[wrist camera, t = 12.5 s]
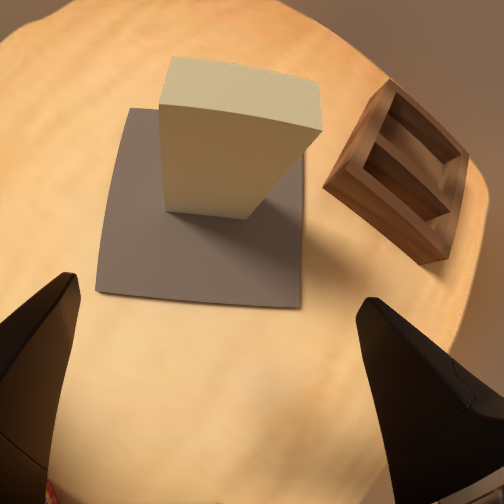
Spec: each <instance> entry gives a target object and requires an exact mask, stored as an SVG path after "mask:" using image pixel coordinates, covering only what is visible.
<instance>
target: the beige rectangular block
mask: <svg viewBox="0 0 504 504" xmlns="http://www.w3.org/2000/svg"><path fill="white" fill-rule="evenodd" d="M159 125H160V146H161V163H162V177H163V190H164V201H165V211H167V212H177V213H187V214H197V215H207V216H216V217H225V218H234V219H243V220H246V219H247V218H248V217H249V216H250V215H251V214H252V212H253V211H254V210H255V209H256V208H257V206H258V205H259V204H260V203H261V202H262V200H263V199H264V198H265V197H266V196H267V195H268V193H269V192H270V191H271V190H272V189H273V187H274V186H275V185H276V184H277V183H278V182H279V180H280V179H281V178H282V177H283V176H284V175H285V173H286V172H287V171H288V170H289V169H290V168H291V166H292V165H293V164H294V163H295V162H296V161H297V160H298V158H299V157H300V156H301V155H302V154H303V153H304V151H305V150H306V149H307V148H308V147H309V146H310V145H311V143H312V142H313V141H314V140H315V139H316V138H317V137H318V135H319V134H320V133H321V132H322V131H323V128H322V113H321V100H320V88H319V83H318V82H315V81H311V80H307V79H304V78H300V77H296V76H292V75H288V74H283V73H279V72H275V71H270V70H265V69H260V68H255V67H250V66H245V65H239V64H233V63H227V62H220V61H213V60H205V59H197V58H187V57H177V56H172V59H171V62H170V65H169V69H168V72H167V75H166V79H165V83H164V86H163V90H162V94H161V97H160V101H159Z"/></svg>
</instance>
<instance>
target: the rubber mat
mask: <svg viewBox="0 0 504 504" xmlns="http://www.w3.org/2000/svg"><path fill="white" fill-rule="evenodd" d="M301 246H302V155H301V156H300V157H299V158H298V160H297V161H296V162H295V163H294V164H293V165H292V166H291V168H290V169H289V170H288V171H287V172H286V173H285V175H284V176H283V177H282V178H281V179H280V180H279V182H278V183H277V184H276V185H275V186H274V187H273V189H272V190H271V191H270V192H269V193H268V195H267V196H266V197H265V198H264V199H263V200H262V202H261V203H260V204H259V205H258V206H257V208H256V209H255V210H254V211H253V212H252V214H251V215H250V216H249V217H248V218H247V219H246V220H243V219H234V218H225V217H216V216H207V215H197V214H187V213H177V212H167V211H165V201H164V190H163V177H162V163H161V146H160V125H159V110H154V109H140V108H130V110H129V113H128V117H127V120H126V124H125V127H124V131H123V134H122V138H121V142H120V146H119V150H118V154H117V158H116V162H115V167H114V171H113V175H112V180H111V185H110V190H109V195H108V200H107V205H106V211H105V217H104V222H103V229H102V235H101V242H100V249H99V257H98V266H97V275H96V285H95V291H100V292H108V293H117V294H125V295H134V296H144V297H153V298H164V299H174V300H185V301H197V302H210V303H223V304H238V305H254V306H272V307H294V308H299V301H300V277H301Z"/></svg>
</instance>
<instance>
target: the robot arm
mask: <svg viewBox="0 0 504 504" xmlns="http://www.w3.org/2000/svg"><path fill="white" fill-rule="evenodd" d="M80 301H81V294H80V289H79V284H78V278H77V275H76V274H75V273H69V272H63V273H61V274H60V275H58V276H57V277H56V278H55V279H53V280H52V281H51V282H49V283H48V284H47V285H46V286H44V287H43V288H42V289H41V290H39V291H38V292H37V293H36V294H34V295H33V296H32V297H31V298H30V299H28V300H27V301H26V302H25V303H24V304H22V305H21V306H20V307H19V308H18V309H16V310H15V311H14V312H13V313H12V314H11V315H9V316H8V317H7V318H6V319H5V320H4V321H2V322H1V323H0V504H45V500H46V486H47V475H48V472H47V471H48V465H49V457H50V449H51V442H52V436H53V430H54V424H55V419H56V413H57V408H58V403H59V399H60V394H61V389H62V385H63V381H64V377H65V372H66V368H67V365H68V361H69V357H70V353H71V349H72V344H73V339H74V333H75V327H76V322H77V317H78V311H79V306H80ZM356 325H357V331H358V336H359V341H360V347H361V353H362V358H363V362H364V366H365V370H366V373H367V377H368V381H369V385H370V388H371V392H372V396H373V400H374V404H375V408H376V412H377V416H378V420H379V424H380V429H381V433H382V438H383V442H384V447H385V451H386V456H387V461H388V465H389V471H390V476H391V482H392V487H393V493H394V498H395V504H432V503H434V502H437V501H438V504H504V397H502V396H500V395H499V394H498V393H496V392H495V391H494V390H492V389H491V388H490V387H488V386H487V385H486V384H484V383H483V382H482V381H480V380H479V379H478V378H476V377H475V376H474V375H472V374H471V373H470V372H468V371H467V370H466V369H465V368H464V367H463V366H461V365H460V364H459V363H458V362H457V361H455V360H454V359H453V358H451V357H450V356H449V355H448V354H447V353H446V352H445V351H443V350H442V349H441V348H440V347H439V346H437V345H436V344H435V343H434V342H433V341H431V340H430V339H429V338H428V337H427V336H425V335H424V334H423V333H422V332H420V331H419V330H418V329H417V328H416V327H414V326H413V325H412V324H411V323H409V322H408V321H407V320H406V319H404V318H403V317H402V316H401V315H399V314H398V313H397V312H396V311H394V310H393V309H392V308H391V307H389V306H388V305H387V304H386V303H384V302H383V301H382V300H381V299H379V298H377V297H368V298H366V299H365V300H364V302H363V304H362V306H361V307H360V309H359V311H358V313H357V315H356Z"/></svg>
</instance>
